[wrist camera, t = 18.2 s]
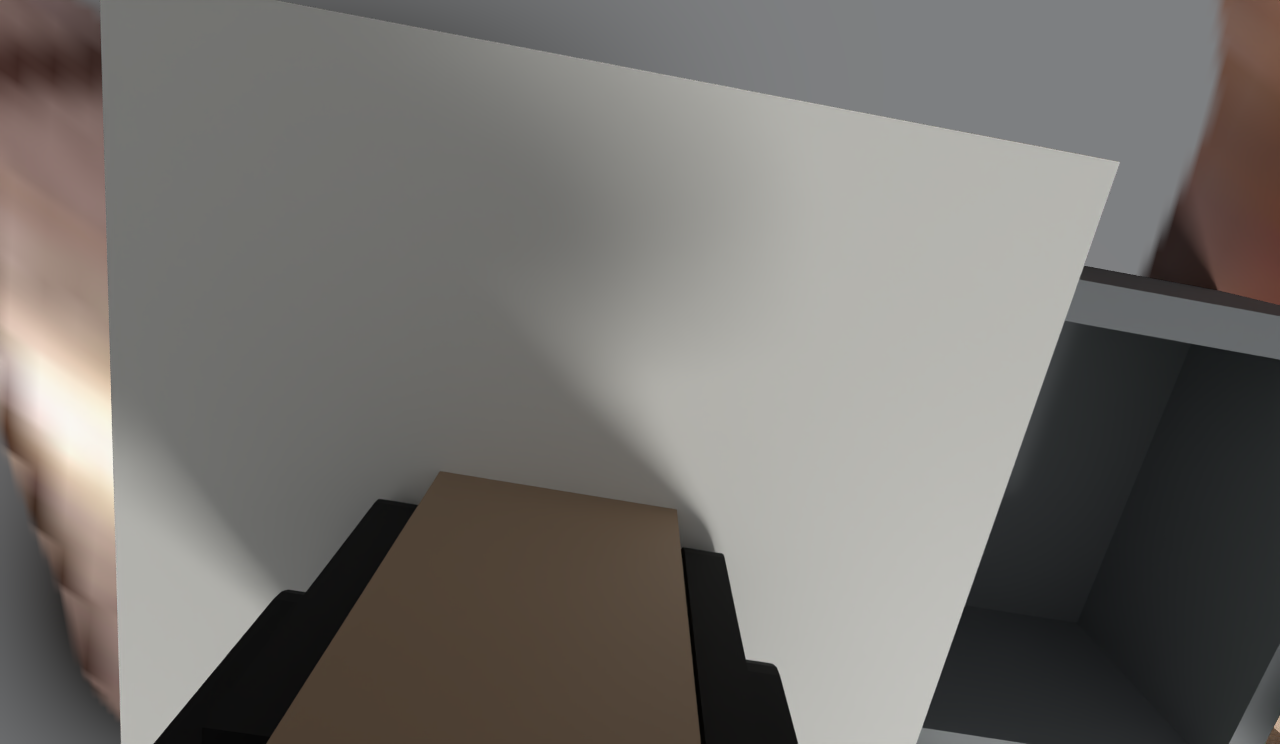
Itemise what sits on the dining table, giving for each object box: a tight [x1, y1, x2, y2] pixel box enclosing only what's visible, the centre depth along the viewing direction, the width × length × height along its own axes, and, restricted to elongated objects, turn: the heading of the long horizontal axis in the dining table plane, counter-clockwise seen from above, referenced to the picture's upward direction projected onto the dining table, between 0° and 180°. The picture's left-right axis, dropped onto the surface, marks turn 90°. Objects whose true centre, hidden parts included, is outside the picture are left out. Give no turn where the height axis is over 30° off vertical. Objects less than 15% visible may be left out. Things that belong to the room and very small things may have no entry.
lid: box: [100, 0, 1120, 744], centre depth 8 cm, size 14×11×7 cm
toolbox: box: [916, 266, 1280, 744], centre depth 21 cm, size 14×14×13 cm
